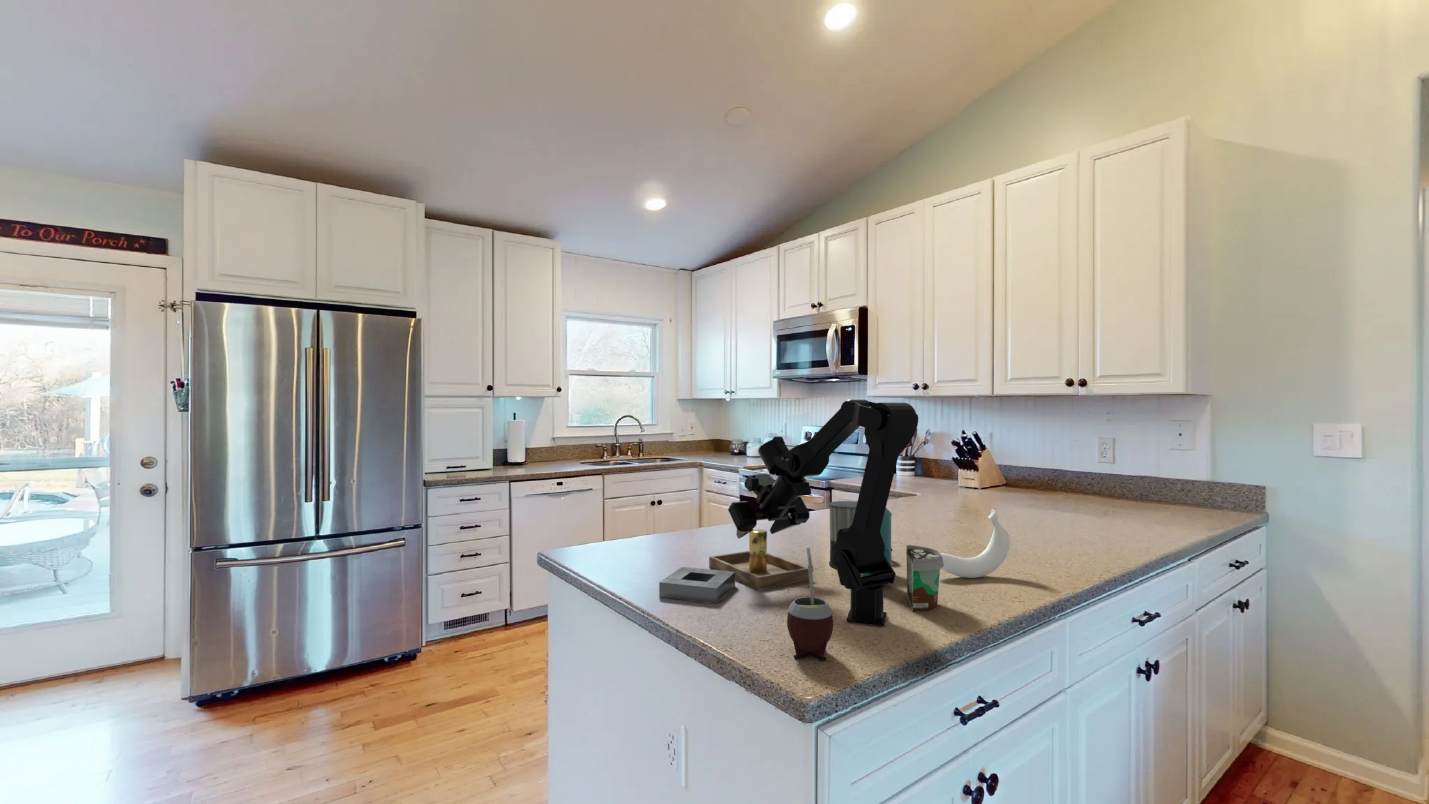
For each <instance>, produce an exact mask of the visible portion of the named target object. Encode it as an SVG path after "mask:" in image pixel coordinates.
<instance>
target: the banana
mask: <svg viewBox="0 0 1429 804" xmlns="http://www.w3.org/2000/svg"><path fill="white" fill-rule="evenodd" d="M987 518H988V519H989V520H990V521H991V523H992V524H993V525H992V526H993V532H992V535H991V536H990V537H991V538H990V540H989V543H988V545H987V546H986V548H985V549H984V550H983V551H982V552H981V553H980V554H978V555H976V556H973V557H959V556H956V555H952V554H949V553H943V552H940V554H941V556H942V559H943V563H944V566H943V567H942V568H940V571H944V572H947V573H948V574H951V575H954V576H957V577H960V578H961V577H962V578H966V579H975V578H976V579H977V578H983V577H985V576H987V575H990V574H992V573H993V572H995V571H996V570H998V568H999V567H1000V566H1001V565H1002V564H1003V563H1004V562H1005V560H1006V558H1007V556H1008V553H1010V549H1011V537H1010V534H1009V532H1008V531H1007V530H1006V529H1005V528H1004V527H1003V526H1002V524H1001V523H1000V521H999V519H998V513H997V511H996V510H995V509H994V508H991V512H990V514H989V515H988V516H987Z"/></svg>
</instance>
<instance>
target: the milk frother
mask: <svg viewBox="0 0 1429 804" xmlns="http://www.w3.org/2000/svg"><path fill="white" fill-rule="evenodd" d="M857 501H858V500H857ZM857 501H856V500H855V501H854V500H852V501H851V500H836V501H835V500H834V501H831V502H828V506H829V538H830V539H829V544H830V545H829V561H828V565H829V566H830V567H832V568H834V569H837V567H836V563H835V551H836V549H835V550H834V549H833V548H834V546H835V544H836V541H837V533H838V531H839V529H843V528H849V527H850V526H851V524H852V522H853V519H854V514H855V510H856V506H857ZM891 552H893V548H892V547H891Z"/></svg>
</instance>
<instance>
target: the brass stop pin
mask: <svg viewBox="0 0 1429 804" xmlns="http://www.w3.org/2000/svg"><path fill="white" fill-rule="evenodd" d="M748 538H749V539H748V551H749V572H751V573H756V574H762V573H766V572H767V553H768V531H767V530H766V529H753V531H751V532H750V533H748Z"/></svg>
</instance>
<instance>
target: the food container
mask: <svg viewBox="0 0 1429 804" xmlns="http://www.w3.org/2000/svg"><path fill="white" fill-rule="evenodd" d="M905 550H906V553H905V554H906V597H907V600H908V602H909V605H910V609H911V611H912V612H915V613H924V612H925V613H926V612H927V613H928V612H931V610H932V611H935V610H937V608H938V600H939V599H938V598H939V589H940V587H939V586H940V574H941V569H940V568H942V567H943V566H944V563H943V559H942V556H941V554H940V553H941V552H940V551H938V550H937V549H935V548H930V547H925V546H922V545H912V544H907V545H906V549H905Z"/></svg>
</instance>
